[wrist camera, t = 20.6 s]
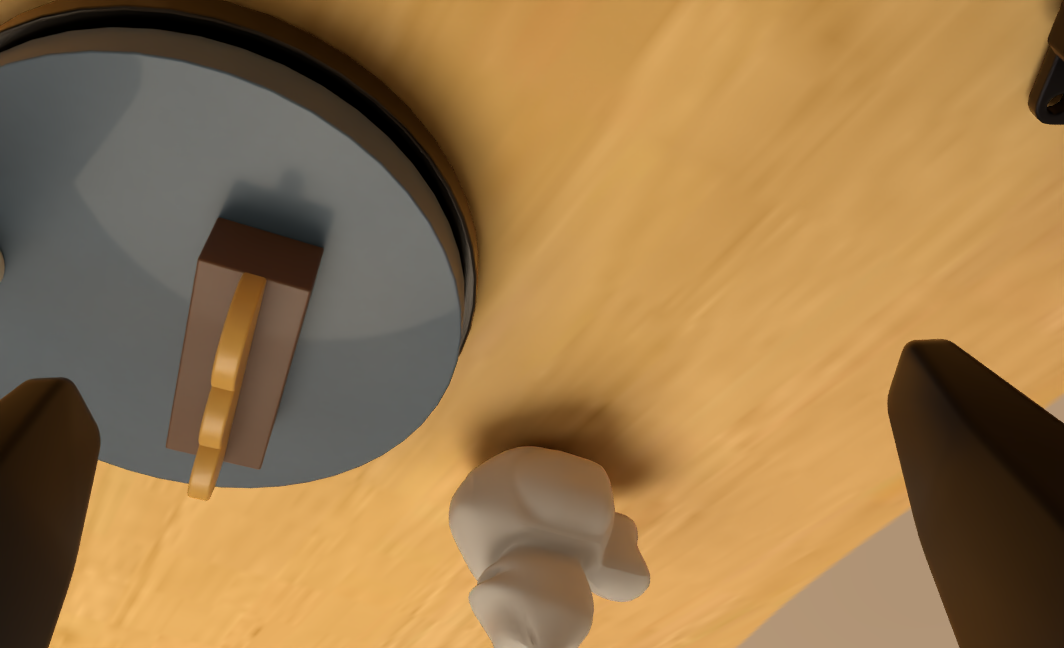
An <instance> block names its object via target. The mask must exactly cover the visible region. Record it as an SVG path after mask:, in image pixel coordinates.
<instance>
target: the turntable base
mask: <svg viewBox="0 0 1064 648" xmlns="http://www.w3.org/2000/svg"><path fill="white" fill-rule="evenodd" d="M108 27H119V28H143V29H159V30H165V31H171V32H177V33H183V34H189V35H196V36H201V37H204V38H208V39H211V40H215V41H218V42H222V43H226V44H229V45H233V46H236V47H240V48H243V49H246V50H248V51H250V52H253V53H255V54H258V55H260V56H263V57H265V58H268V59H270V60H273V61H275V62H278V63H280V64H283V65H285V66H287V67H289V68H290V69H292V70H294V71H296V72H298V73H300V74H302V75H303V76H305V77H307V78H309V79H311V80H313V81H315V82H316V83H318V84H320V85H322V86H324V87H325V88H326V89H328V90H329V91H331V92H332V93H334V94H335V95H337V96H338V97H340V98H341V99H342V100H344V101H345V102H347V103H348V104H350V105H351V106H353V107H354V108H355V109H357V110H358V111H359V112H361V113H362V114H363V115H364V116H365V117H366V118H367V119H369V120H370V121H371V122H372V123H373V124H374V125H375V126H377V127H378V128H379V129H380V130H381V131H382V132H383V133H385V134H386V135H387V136H388V137H389V138H390V139H391V140H392V141H393V143H394V144H395V145H396V146H397V147H398V148H399V149H400V150H401V151H402V152H403V154H404V155H405V156H406V157H407V158H408V159H409V160H410V161H411V162H412V164H413V165H414V166H415V168H416V169H417V170H418V172H419V173H420V175H421V176H422V178H423V179H424V180H425V182H426V183H427V185H428V186H429V188H430V189H431V190H432V192H433V193H434V195H435V197H436V199H437V201H438V203H439V205H440V206H441V208H442V210H443V212H444V214H445V216H446V218H447V220H448V222H449V224H450V227H451V230H452V233H453V236H454V239H455V242H456V245H457V247H458V250H459V254H460V260H461V265H462V271H463V277H464V318H463V329H462V338H461V344H460V350H459V355H460V354H461V352H462V350H463V347H464V345H465V342H466V340H467V337H468V335H469V332H470V330H471V326H472V321H473V316H474V312H475V307H476V300H477V287H478V265H479V255H478V246H477V238H476V230H475V226H474V222H473V219H472V215H471V212H470V208H469V205H468V201H467V198H466V196H465V194H464V191H463V189H462V187H461V185H460V182H459V180H458V178H457V176H456V174H455V171H454V169H453V167H452V166H451V164H450V163H449V161H448V159H447V158H446V156H445V155H444V153H443V151H442V150H441V148H440V147H439V145H438V143H437V142H436V140H435V139H434V137H433V136H432V135H431V134H430V132H429V131H428V130H427V129H426V128H425V126H424V125H423V124H422V123H421V121H420V120H419V119H418V118H417V117H416V115H415V114H414V113H413V112H412V110H411V109H410V108H409V107H408V106H407V105H406V104H405V103H404V102H403V101H401V100H400V99H399V98H398V97H397V96H396V95H395V94H394V93H393V92H392V91H391V90H390V89H389V88H388V87H387V86H386V85H385V84H384V83H383V82H382V81H380V80H379V79H378V78H376V77H375V76H374V75H373V74H371V73H370V72H369V71H367V70H366V69H365V68H363V67H362V66H361V65H359V64H358V63H357V62H355V61H354V60H353V59H351V58H350V57H349V56H347V55H346V54H344V53H342V52H341V51H339V50H337V49H336V48H334V47H332V46H330V45H329V44H327V43H325V42H324V41H322V40H320V39H319V38H317V37H315V36H314V35H312V34H310V33H308V32H306V31H304V30H301V29H299V28H297V27H295V26H293V25H290V24H288V23H286V22H284V21H281V20H279V19H277V18H275V17H273V16H270V15H268V14H264V13H261V12H258V11H255V10H252V9H249V8H246V7H243V6H239V5H236V4H233V3H230V2H227V1H222V0H55V1H53V2H50V3H47V4H45V5H42V6H39V7H37V8H34V9H31V10H29V11H26V12H23V13H21V14H19V15H17V16H16V17H14V18H12V19H10V20H9V21H7V22H5V23H4V24H2V25H0V53H1V52H3V51H6V50H8V49H10V48H13V47H15V46H18V45H20V44H23V43H25V42H28V41H30V40H33V39H38V38H42V37H46V36H50V35H55V34H59V33H63V32H67V31H75V30H86V29H97V28H108ZM458 357H459V356H458Z"/></svg>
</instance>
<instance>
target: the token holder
mask: <svg viewBox="0 0 1064 648" xmlns="http://www.w3.org/2000/svg"><path fill="white" fill-rule="evenodd" d="M463 318H464V277H463V271H462V265H461V260H460V254H459V250H458V247H457V245H456V242H455V239H454V236H453V233H452V230H451V227H450V224H449V222H448V220H447V218H446V216H445V214H444V212H443V210H442V208H441V206H440V205H439V203H438V201H437V199H436V197H435V195H434V193H433V192H432V190H431V189H430V188H429V186H428V185H427V183H426V182H425V180H424V179H423V178H422V176H421V175H420V173H419V172H418V170H417V169H416V168H415V166H414V165H413V164H412V162H411V161H410V160H409V159H408V158H407V157H406V156H405V155H404V154H403V152H402V151H401V150H400V149H399V148H398V147H397V146H396V145H395V144H394V143H393V141H392V140H391V139H390V138H389V137H388V136H387V135H386V134H385V133H383V132H382V131H381V130H380V129H379V128H378V127H377V126H375V125H374V124H373V123H372V122H371V121H370V120H369V119H367V118H366V117H365V116H364V115H363V114H362V113H361V112H359V111H358V110H357V109H355V108H354V107H353V106H351V105H350V104H348V103H347V102H345V101H344V100H342V99H341V98H340V97H338V96H337V95H335V94H334V93H332V92H331V91H329V90H328V89H326V88H325V87H324V86H322V85H320V84H318V83H316V82H315V81H313V80H311V79H309V78H307V77H305V76H303V75H302V74H300V73H298V72H296V71H294V70H292V69H290V68H289V67H287V66H285V65H283V64H280V63H278V62H275V61H273V60H270V59H268V58H265V57H263V56H260V55H258V54H255V53H253V52H250V51H248V50H246V49H243V48H240V47H236V46H233V45H229V44H226V43H222V42H218V41H215V40H211V39H208V38H204V37H201V36H196V35H189V34H183V33H177V32H171V31H165V30H159V29H143V28H119V27H108V28H97V29H86V30H75V31H67V32H63V33H59V34H55V35H50V36H46V37H42V38H38V39H33V40H30V41H28V42H25V43H23V44H20V45H18V46H15V47H13V48H10V49H8V50H6V51H3V52H1V53H0V399H2V398H3V397H4V396H6V395H7V394H8V393H10V392H11V391H12V390H14V389H15V388H16V387H18V386H19V385H20V384H22V383H23V382H25V381H27V380H29V379H33V378H50V377H64V378H68V379H70V380H71V381H72V382H74V384H75V385H76V387H77V388H78V390H79V392H80V394H81V396H82V398H83V399H84V401H85V403H86V405H87V407H88V409H89V410H90V412H91V414H92V416H93V418H94V420H95V421H96V423H97V425H98V428H99V432H100V438H101V445H100V452H99V457H98V460H100V461H103V462H106V463H109V464H112V465H115V466H118V467H121V468H124V469H126V470H130V471H134V472H137V473H141V474H145V475H149V476H152V477H156V478H161V479H166V480H171V481H177V482H182V483H188V484H189V485H188V492H187V493H188V496H189V497H192V498H196V499H201V500H205V501H207V500H209V499H210V497H211V495H212V492H213V490H214V487H231V488H260V487H278V486H286V485H293V484H299V483H306V482H311V481H315V480H319V479H323V478H327V477H331V476H335V475H338V474H340V473H343V472H346V471H349V470H351V469H354V468H357V467H360V466H362V465H364V464H366V463H368V462H370V461H372V460H374V459H376V458H378V457H380V456H382V455H383V454H385V453H386V452H388V451H389V450H391V449H392V448H394V447H395V446H397V445H398V444H400V443H401V442H403V441H404V440H405V439H406V438H407V437H408V436H409V435H411V434H412V433H413V432H414V431H415V430H416V429H417V428H418V427H419V426H421V425H422V423H423V422H424V421H425V420H426V419H427V417H428V416H429V415H430V414H431V412H432V411H433V410H434V409H435V407H436V406H437V405H438V403H439V401H440V400H441V398H442V396H443V394H444V393H445V391H446V389H447V387H448V386H449V384H450V381H451V378H452V375H453V373H454V370H455V367H456V364H457V361H458V356H459V350H460V344H461V338H462V329H463Z"/></svg>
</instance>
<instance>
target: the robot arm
mask: <svg viewBox="0 0 1064 648" xmlns="http://www.w3.org/2000/svg"><path fill="white" fill-rule="evenodd" d="M1048 43H1049V45H1050V46H1049V49H1048V51H1047V54H1046V56H1045V59H1044V61H1043V64H1042V66H1041V69H1040V71H1039V74H1038V76H1037V78H1036V81H1035V83H1034V86H1033V88H1032V91H1031V93H1030V96H1029V100H1028V106H1029V109H1030V111H1031V112H1032V113H1033V114H1034V115H1035V116H1036V118H1037V119H1039V120H1040V121H1041V122H1042V123H1046V124H1054V125H1064V0H1063V2H1062V4H1061V7H1060V9H1059V12H1058V14H1057V17H1056V19H1055V22H1054V24H1053V27H1052V29H1051V32H1050V34H1049V37H1048ZM1060 94H1063V96H1062V98H1061V99H1060V100H1059V102H1057V103H1056V104H1054V105H1052V106H1048V107H1047V104H1048V103H1049V102H1050V100H1051V99H1052V98H1054V97H1055V96H1057V95H1060ZM888 414H889V419H890V423H891V427H892V431H893V435H894V439H895V443H896V448H897V452H898V456H899V460H900V464H901V468H902V472H903V476H904V480H905V484H906V489H907V493H908V497H909V501H910V505H911V509H912V513H913V517H914V521H915V525H916V528H917V531H918V536H919V538H920V542H921V545H922V548H923V551H924V554H925V556H926V560H927V562H928V565H929V568H930V570H931V573H932V576H933V578H934V581H935V584H936V586H937V589H938V591H939V594H940V597H941V599H942V602H943V605H944V608H945V610H946V613H947V615H948V618H949V621H950V624H951V626H952V629H953V631H954V634H955V637H956V639H957V642H958V645H959V647H960V648H1064V423H1063V422H1061V421H1060V420H1058V419H1057V418H1056V417H1054V416H1053V415H1052V414H1050V413H1049V412H1047V411H1046V410H1045V409H1043V408H1042V407H1041V406H1039V405H1038V404H1036V403H1035V402H1034V401H1032V400H1031V399H1030V398H1028V397H1027V396H1026V395H1024V394H1023V393H1021V392H1020V391H1019V390H1017V389H1016V388H1015V387H1013V386H1012V385H1010V384H1009V383H1008V382H1006V381H1005V380H1004V379H1002V378H1001V377H999V376H998V375H997V374H995V373H994V372H993V371H991V370H990V369H989V368H987V367H986V366H984V365H983V364H982V363H980V362H979V361H978V360H976V359H975V358H973V357H972V356H971V355H969V354H968V353H967V352H965V351H964V350H962V349H961V348H960V347H958V346H957V345H956V344H954V343H952V342H951V341H948V340H944V339H931V340H913V341H910V342H908V343H907V344H906V345H905V347H904V348H903V351H902V353H901V356H900V359H899V362H898V365H897V368H896V372H895V375H894V378H893V381H892V384H891V387H890V390H889V394H888ZM100 445H101V438H100V432H99V428H98V425H97V423H96V421H95V420H94V418H93V416H92V414H91V412H90V410H89V409H88V407H87V405H86V403H85V401H84V399H83V398H82V396H81V394H80V392H79V390H78V388H77V387H76V385H75V384H74V382H72V381H71V380H70V379H68V378H64V377H50V378H33V379H29V380H27V381H25V382H23V383H22V384H20V385H19V386H18V387H16V388H15V389H14V390H12V391H11V392H10V393H8V394H7V395H6V396H4V397H3V398H2V399H0V648H48V647H49V644H50V641H51V638H52V635H53V632H54V629H55V626H56V623H57V620H58V617H59V614H60V611H61V608H62V605H63V602H64V600H65V597H66V594H67V590H68V587H69V584H70V581H71V577H72V574H73V571H74V567H75V563H76V559H77V555H78V550H79V546H80V541H81V536H82V531H83V527H84V522H85V517H86V513H87V508H88V503H89V499H90V494H91V489H92V485H93V480H94V475H95V471H96V466H97V461H98V457H99V452H100Z"/></svg>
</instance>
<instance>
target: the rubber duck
mask: <svg viewBox="0 0 1064 648" xmlns="http://www.w3.org/2000/svg"><path fill="white" fill-rule="evenodd" d="M449 525H450V529H451V533H452V535H453V538H454V540H455V542H456V544H457V546H458V548H459V550H460V552H461V554H462V556H463V558H464V560H465V562H466V564H467V566H468V568H469V569H470V571H471V573H472V574H473V576H474V577H475V579H476V580H477V581H478V582H477V586H475V587H474V588H473V589H472V590H471V592H470V593H469V603H470V605H471V608H472V610H473V612H474V614H475V616H476V617H477V619H478V620H479V622H480V624H481V625H482V627H483V628H484V630H485V631H486V633H487V635H488V636H489V638H490V640H491V641H492V643H493V646H494V648H578V646H579V645H580V644H581V642H582V641H583V640H584V638H585V637H586V636H587V634H588V633H589V630H590V628H591V625H592V620H593V612H594V605H593V597H592V593H591V592H593V593H595V594H596V595H598V596H600V597H602V598H605V599H608V600H612V601H618V602H626V601H631V600H633V599H635V598H637V597H639V596H640V595H641V594H643V593H644V591H645V590H646V589H647V588H648V586H649V584H650V573H649V570H648V568H647V565H646V563H645V561H644V559H643V557H642V555H641V553H640V551H639V548H638V546H637V540H638V532H637V527H636V525H635V523H634V522H633V520H632V519H630V518H629V517H627V516H625V515H623V514H620V513H616V512H615V508H614V501H613V492H612V487H611V483H610V480H609V477H608V475H607V473H606V471H605V469H604V468H603V467H602V466H601V465H599V464H598V463H596V462H594V461H591V460H588V459H585V458H582V457H579V456H576V455H573V454H569V453H566V452H563V451H559V450H550V449H546V448H542V447H536V446H522V447H516V448H512V449H509V450H506V451H504V452H502V453H499V454H497V455H495V456H494V457H492V458H490V459H488V460H487V461H485V462H484V463H482V464H481V465H479V466H478V467H476V468H475V469H473V470H472V471H471V472H470V473H469V474H468V476H467V477H466V479H465V480H464V481H463V482H462V484H461V485H460V486H459V488H458V489H457V491H456V492H455V494H454V496H453V497H452V500H451V503H450V508H449Z"/></svg>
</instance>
